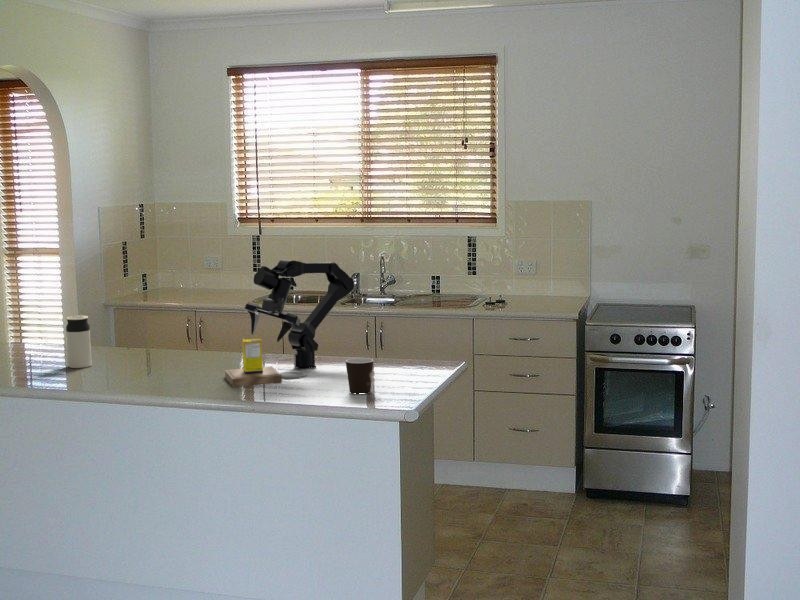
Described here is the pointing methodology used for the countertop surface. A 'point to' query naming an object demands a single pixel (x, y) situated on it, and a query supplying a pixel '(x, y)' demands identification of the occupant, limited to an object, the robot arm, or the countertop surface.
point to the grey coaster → (292, 375)
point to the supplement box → (252, 355)
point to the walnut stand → (252, 377)
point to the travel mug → (78, 342)
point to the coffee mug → (359, 374)
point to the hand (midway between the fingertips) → (264, 338)
